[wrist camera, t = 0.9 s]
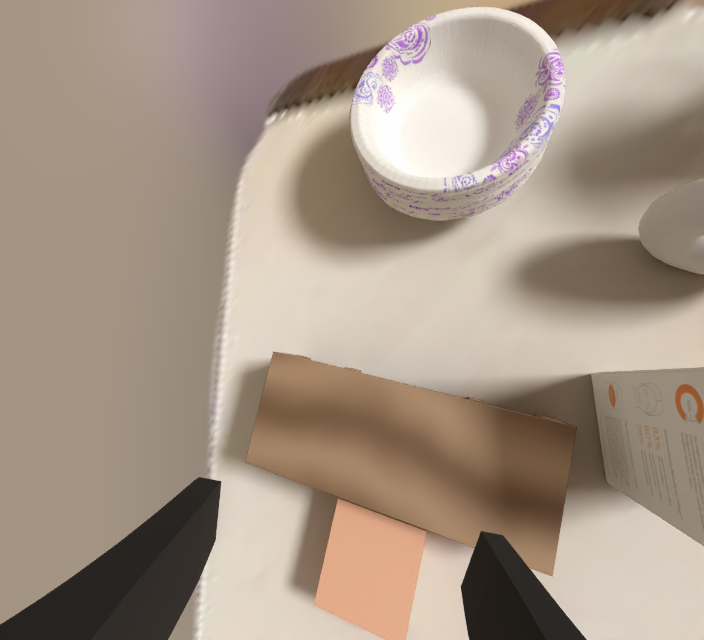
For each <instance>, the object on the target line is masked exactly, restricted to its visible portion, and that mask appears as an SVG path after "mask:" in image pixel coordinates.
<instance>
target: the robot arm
mask: <svg viewBox="0 0 704 640" xmlns="http://www.w3.org/2000/svg"><path fill="white" fill-rule="evenodd" d="M220 489H221V481H216V480H211V479H206V478H201V477H199V478H197V479H196V480H194V481H193V482H192V483H191V484H190V485H189V486H187V487H186V488H185V489H184V490H183V491H182V492H180V493H179V494H178V495H177V496H176V497H175V498H173V499H172V500H171V501H170V502H169V503H167V504H166V505H165V506H164V507H163V508H161V509H160V510H159V511H158V512H157V513H155V514H154V515H153V516H152V517H151V518H150V519H148V520H147V521H146V522H144V523H143V524H142V525H141V526H139V527H138V528H137V529H136V530H134V531H133V532H132V533H130V534H129V535H128V536H127V537H125V538H124V539H123V540H121V541H120V542H119V543H118V544H117V545H115V546H114V547H112V548H111V549H110V550H108V551H107V552H106V553H104V554H103V555H101V556H100V557H99V558H97V559H96V560H95V561H93V562H92V563H91V564H89V565H88V566H87V567H85V568H84V569H82V570H81V571H80V572H78V573H77V574H76V575H74V576H73V577H71V578H70V579H68V580H67V581H66V582H64V583H63V584H61V585H60V586H58V587H57V588H55V589H54V590H53V591H51V592H50V593H48V594H47V595H45V596H44V597H42V598H41V599H39V600H38V601H36V602H35V603H33V604H32V605H30V606H29V607H27V608H25V609H24V610H22V611H21V612H19V613H18V614H16V615H15V616H14V617H12V618H10V619H9V620H7V621H5V622H4V623H2V624H0V640H168V638H169V637H170V635H171V633H172V631H173V629H174V627H175V625H176V623H177V621H178V620H179V618H180V616H181V614H182V612H183V610H184V608H185V606H186V604H187V602H188V601H189V599H190V597H191V595H192V593H193V591H194V589H195V587H196V585H197V583H198V581H199V579H200V576H201V574H202V572H203V569H204V567H205V565H206V562H207V560H208V557H209V555H210V552H211V550H212V547H213V545H214V543H215V540H216V529H217V519H218V509H219V499H220ZM461 591H462V598H463V605H464V612H465V618H466V624H467V630H468V636H469V640H586V638H585V637H584V636H583V635H582V634H581V632H580V631H579V630H578V629H577V628H576V626H575V625H574V624H573V623H572V621H571V620H570V619H569V618H568V617H567V615H566V614H565V613H564V612H563V610H562V609H561V608H560V607H559V605H558V604H557V603H556V602H555V600H554V599H553V598H552V597H551V595H550V594H549V593H548V592H547V590H546V589H545V588H544V586H543V585H542V584H541V583H540V581H539V580H538V579H537V577H536V576H535V575H534V574H533V572H532V571H531V570H530V569H529V567H528V566H527V565H526V563H525V562H524V561H523V560H522V558H521V557H520V556H519V554H518V553H517V552H516V551H515V549H514V548H513V547H512V546H511V544H510V543H509V542H508V541H507V539H506V538H505V537H504V536H503V535H500V534H495V533H489V532H484V531H481V532H480V535H479V538H478V541H477V543H476V546H475V549H474V552H473V554H472V557H471V560H470V563H469V566H468V568H467V571H466V574H465V577H464V580H463V582H462V585H461Z"/></svg>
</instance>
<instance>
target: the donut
mask: <svg viewBox="0 0 704 640" xmlns="http://www.w3.org/2000/svg"><path fill="white" fill-rule="evenodd" d="M639 235H640V240H641V244H642V245H643V246H644V247H645V248H646V249H647V250H648V251H649V252H650V253H651V254H652V255H653V256H654V257H655V258H657V259H659V260H661V261H663V262H665V263H666V264H668V265H671V266H674V267H677V268H680V269H683V270H686V271H689V272H693V273H698V274H703V275H704V178H702V179H699V180H696V181H693V182H690V183H687V184H684V185H681V186H679V187H677V188H675V189H673V190H672V191H670V192H668V193H666V194H665V195H663V196H661V197H660V198H658V199H657V200H656V201H654V202H653V203H652V204H651V206H650V207H649V208H648V210H647V211H646V212H645V214H644V215H643V217H642V218H641V220H640V223H639Z"/></svg>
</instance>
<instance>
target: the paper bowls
mask: <svg viewBox="0 0 704 640" xmlns="http://www.w3.org/2000/svg"><path fill="white" fill-rule="evenodd" d="M564 94H565V72H564V65H563V61H562V59H561V55H560V53H559V51H558V49H557V47H556V45H555V43H554V42H553V40H552V39H551V38H550V37H549V36H548V34H547V33H546V32H545V31H544V30H543V29H542V28H541V27H539V26H538V25H537V24H536V23H535V22H533V21H531V20H530V19H528V18H526V17H524V16H522V15H519V14H517V13H514V12H511V11H507V10H503V9H498V8H492V7H471V8H462V9H457V10H451V11H448V12H444V13H441V14H437V15H434V16H432V17H430V18H426V19H425V20H422V21H420V22H419V23H417V24H415V25H413V26H411V27H409V28H408V29H407V30H405V31H403V32H402V33H401V34H399V35H397V36H396V37H395V38H394V39H392V40H391V41H390V42H389V43H388V44H387V45H386V46H385V47H384V48H383V49H382V50H381V51H380V52H379V53H378V54H377V55H376V56H375V58H374V59H373V60H372V61H371V62H370V64H369V65H368V66H367V68H366V70H365V71H364V73H363V75H362V77H361V79H360V81H359V82H358V85H357V87H356V89H355V93H354V96H353V99H352V105H351V109H350V132H351V138H352V142H353V145H354V147H355V150H356V152H357V155H358V157H359V160H360V162H361V165H362V167H363V169H364V172H365V174H366V176H367V178H368V180H369V182H370V184H371V186H372V187H373V189H374V190H375V191H376V193H377V194H378V195H379V197H380V198H381V199H382V200H383V201H384V202H385V203H386V204H388V205H389V206H390V207H392V208H394V209H395V210H397V211H399V212H402V213H404V214H406V215H409V216H412V217H416V218H422V219H427V220H436V221H440V220H452V219H459V218H464V217H469V216H473V215H476V214H479V213H481V212H483V211H485V210H488V209H490V208H492V207H494V206H496V205H498V204H500V203H501V202H503V201H504V200H506V199H507V198H508V197H509V196H511V195H512V194H513V193H514V192H516V191H517V190H518V189H519V188H520V187H521V186H522V185H523V184H524V183H525V182H526V181H527V180H528V179H529V177H530V176H531V175H532V173H533V172H534V170H535V168H536V167H537V165H538V164H539V162H540V160H541V158H542V156H543V153H544V151H545V149H546V147H547V145H548V142H549V139H550V137H551V134H552V132H553V130H554V127H555V125H556V123H557V121H558V119H559V116H560V113H561V109H562V104H563V100H564Z"/></svg>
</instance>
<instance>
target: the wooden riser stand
mask: <svg viewBox="0 0 704 640" xmlns="http://www.w3.org/2000/svg"><path fill="white" fill-rule="evenodd" d="M576 429H577V427H574V426H572V425H569V424H567V423H564V422H562V421H559V420H557V419H554V418H551V417H547V416H543V415H539V414H536V416H533V415H529V414H525V413H521V412H517V411H513V410H509V409H505V408H501V407H496V406H492V405H488V404H484V403H483V401H481V400H478V399H474V398H470V397H468V399H464V398H460V397H456V396H452V395H448V394H444V393H440V392H436V391H432V390H428V389H424V388H420V387H416V386H412V385H408V384H404V383H400V382H396V381H392V380H388V379H384V378H380V377H376V376H372V375H368V374H364V373H361V370H357V369H353V368H340V367H336V366H332V365H328V364H324V363H320V362H316V361H312V360H311V358H308V357H304V356H300V355H293V354H286V353H279V352H273V355H272V359H271V363H270V367H269V371H268V375H267V378H266V382H265V386H264V390H263V394H262V398H261V402H260V406H259V410H258V414H257V418H256V422H255V426H254V430H253V434H252V438H251V441H250V445H249V449H248V453H247V457H246V461H245V463H248V464H251V465H253V466H256V467H259V468H262V469H264V470H267V471H270V472H272V473H275V474H278V475H280V476H283V477H286V478H288V479H291V480H294V481H297V482H299V483H302V484H305V485H307V486H310V487H313V488H315V489H318V490H321V491H323V492H326V493H329V494H332V495H334V496H337V497H340V498H342V499H345V500H348V501H350V502H353V503H356V504H358V505H361V506H364V507H367V508H369V509H372V510H375V511H377V512H380V513H383V514H385V515H388V516H391V517H393V518H396V519H399V520H401V521H404V522H407V523H410V524H412V525H415V526H418V527H420V528H423V529H426V530H428V531H431V532H434V533H436V534H439V535H442V536H445V537H447V538H450V539H453V540H455V541H458V542H461V543H463V544H466V545H469V546H471V547H474V548H475V546H476V543H477V541H478V538H479V535H480V532H481V531H484V532H489V533H495V534H500V535H503V536H504V537H505V538H506V539H507V541H508V542H509V543H510V544H511V546H512V547H513V548H514V549H515V551H516V552H517V553H518V554H519V556H520V557H521V558H522V560H523V561H524V562H525V563H526V565H527V566H528V567H529V568H531V569H533V570H536V571H539V572H541V573H544V574H547V575H550V576H553V570H554V564H555V558H556V552H557V546H558V539H559V533H560V527H561V521H562V515H563V509H564V503H565V496H566V490H567V484H568V478H569V472H570V466H571V460H572V453H573V447H574V441H575V435H576Z"/></svg>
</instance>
